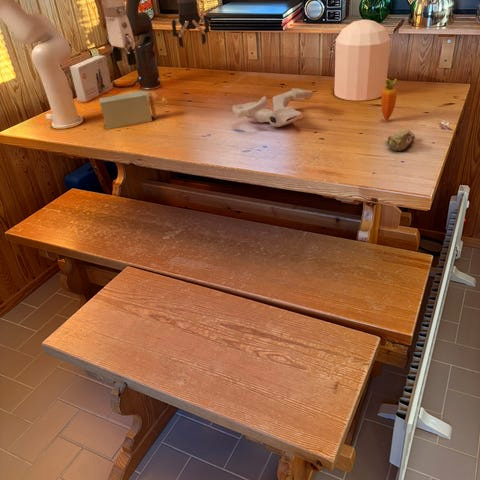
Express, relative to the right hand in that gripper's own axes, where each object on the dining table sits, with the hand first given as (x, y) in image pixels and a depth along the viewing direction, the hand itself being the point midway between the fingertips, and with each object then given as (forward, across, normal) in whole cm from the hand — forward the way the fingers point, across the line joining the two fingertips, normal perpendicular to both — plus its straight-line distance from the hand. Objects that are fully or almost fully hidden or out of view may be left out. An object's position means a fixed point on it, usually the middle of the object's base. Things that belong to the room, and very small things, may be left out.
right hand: (192, 45), depth 184 cm
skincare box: (+24, +45, -38) cm, 64 cm away
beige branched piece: (+24, -24, +36) cm, 50 cm away
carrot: (+24, -60, +49) cm, 81 cm away
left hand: (+1, +27, +11) cm, 29 cm away
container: (+24, -65, +16) cm, 71 cm away
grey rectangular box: (+24, +31, +8) cm, 40 cm away
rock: (+24, -54, +71) cm, 92 cm away
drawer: (+23, +25, +8) cm, 35 cm away
